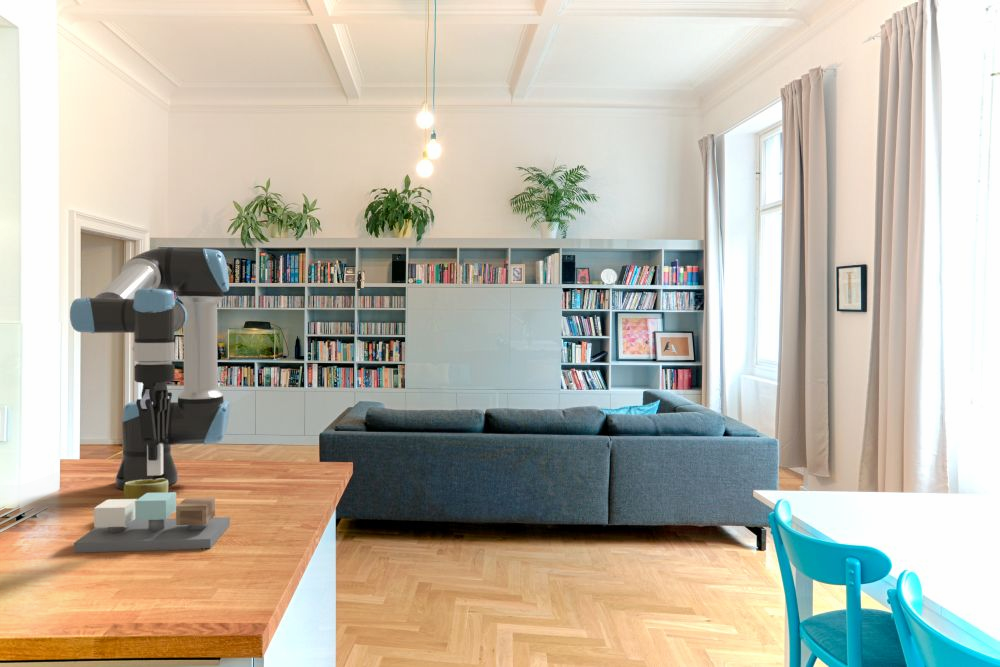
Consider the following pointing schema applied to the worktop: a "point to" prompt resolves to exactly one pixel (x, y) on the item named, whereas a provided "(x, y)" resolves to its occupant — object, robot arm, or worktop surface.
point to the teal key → (155, 506)
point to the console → (152, 536)
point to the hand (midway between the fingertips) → (155, 474)
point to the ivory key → (114, 513)
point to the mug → (144, 487)
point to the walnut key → (195, 511)
